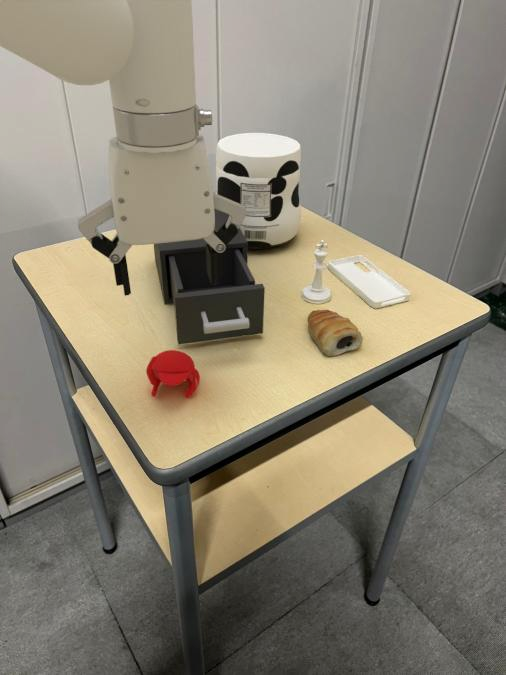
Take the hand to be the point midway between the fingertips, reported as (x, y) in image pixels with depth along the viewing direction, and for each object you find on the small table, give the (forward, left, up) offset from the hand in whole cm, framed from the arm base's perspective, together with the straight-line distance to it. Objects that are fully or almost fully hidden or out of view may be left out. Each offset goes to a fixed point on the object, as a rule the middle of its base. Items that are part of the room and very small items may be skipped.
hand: (170, 284), depth 58 cm
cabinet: (+7, +27, -15) cm, 32 cm away
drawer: (+7, +12, -14) cm, 20 cm away
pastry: (+23, +5, -16) cm, 28 cm away
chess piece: (+25, +17, -16) cm, 34 cm away
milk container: (+21, +41, -16) cm, 49 cm away
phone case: (+35, +19, -16) cm, 43 cm away
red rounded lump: (-1, -1, -16) cm, 16 cm away
